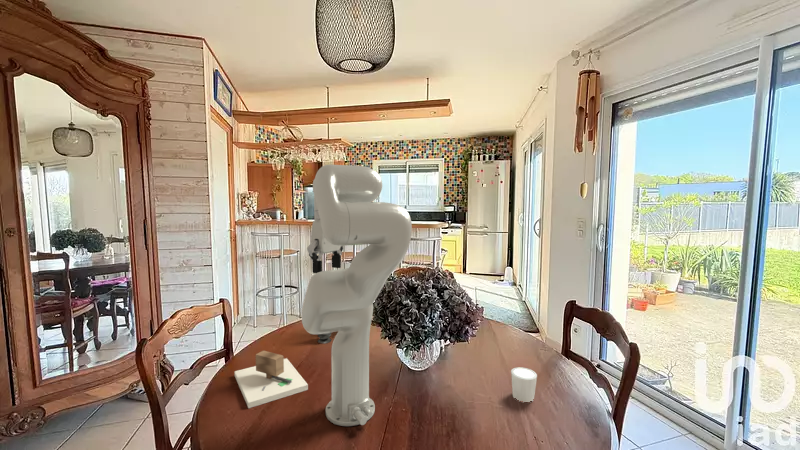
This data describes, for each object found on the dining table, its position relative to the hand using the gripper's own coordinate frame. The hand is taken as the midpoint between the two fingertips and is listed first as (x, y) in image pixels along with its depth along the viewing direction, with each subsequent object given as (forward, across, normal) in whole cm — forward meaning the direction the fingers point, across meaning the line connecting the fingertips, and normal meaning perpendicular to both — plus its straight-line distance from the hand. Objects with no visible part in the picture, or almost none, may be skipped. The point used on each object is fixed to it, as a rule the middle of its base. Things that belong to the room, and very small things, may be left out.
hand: (327, 270), depth 109 cm
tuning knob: (+30, +14, -9) cm, 35 cm away
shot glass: (+32, -11, +58) cm, 68 cm away
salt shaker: (+32, -18, -15) cm, 40 cm away
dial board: (+32, +14, -10) cm, 37 cm away
